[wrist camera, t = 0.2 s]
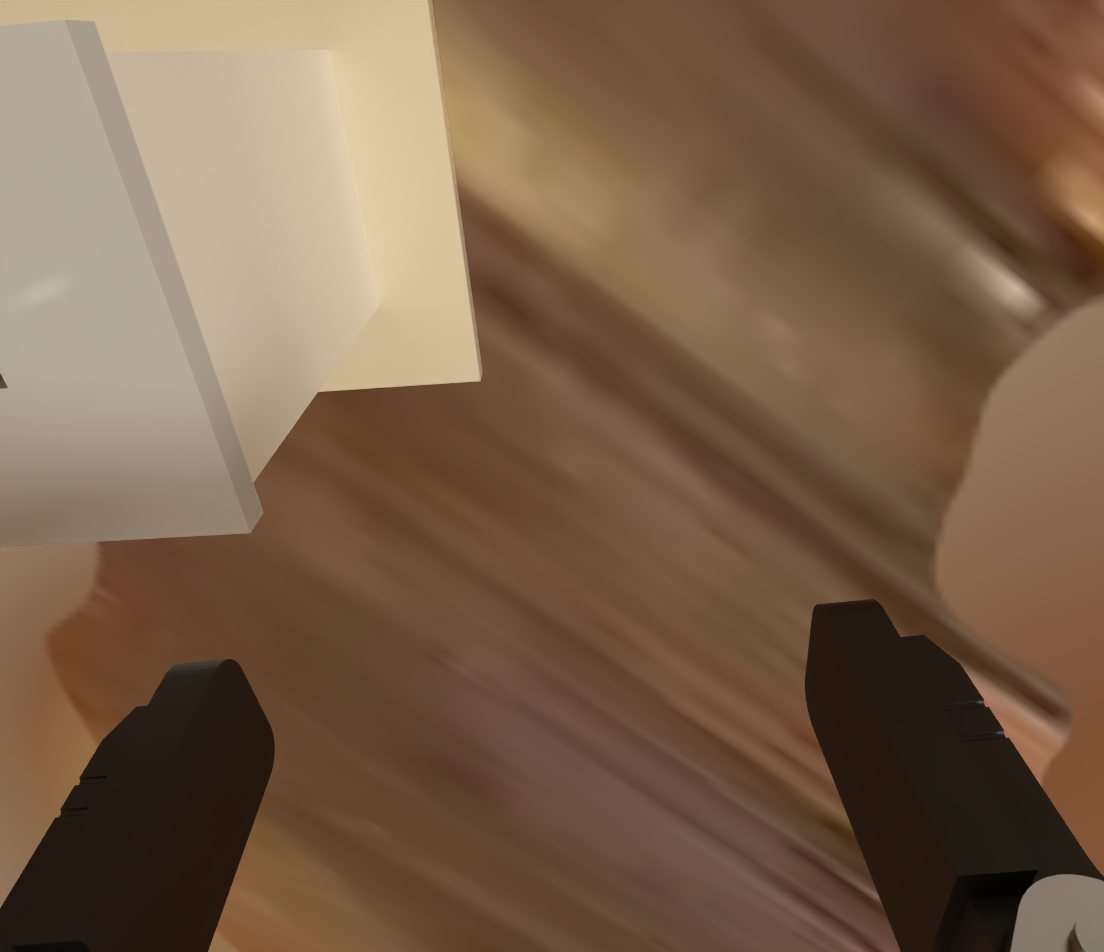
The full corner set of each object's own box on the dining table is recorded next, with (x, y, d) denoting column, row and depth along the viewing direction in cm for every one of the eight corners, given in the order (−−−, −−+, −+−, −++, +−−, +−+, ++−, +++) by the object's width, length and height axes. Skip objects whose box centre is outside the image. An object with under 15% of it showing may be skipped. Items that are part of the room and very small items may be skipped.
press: (-56, -43, 30) (-927, -171, 12) (419, -91, 29) (199, -303, 11) (128, 395, 40) (-205, 662, 23) (482, 372, 39) (418, 633, 22)
